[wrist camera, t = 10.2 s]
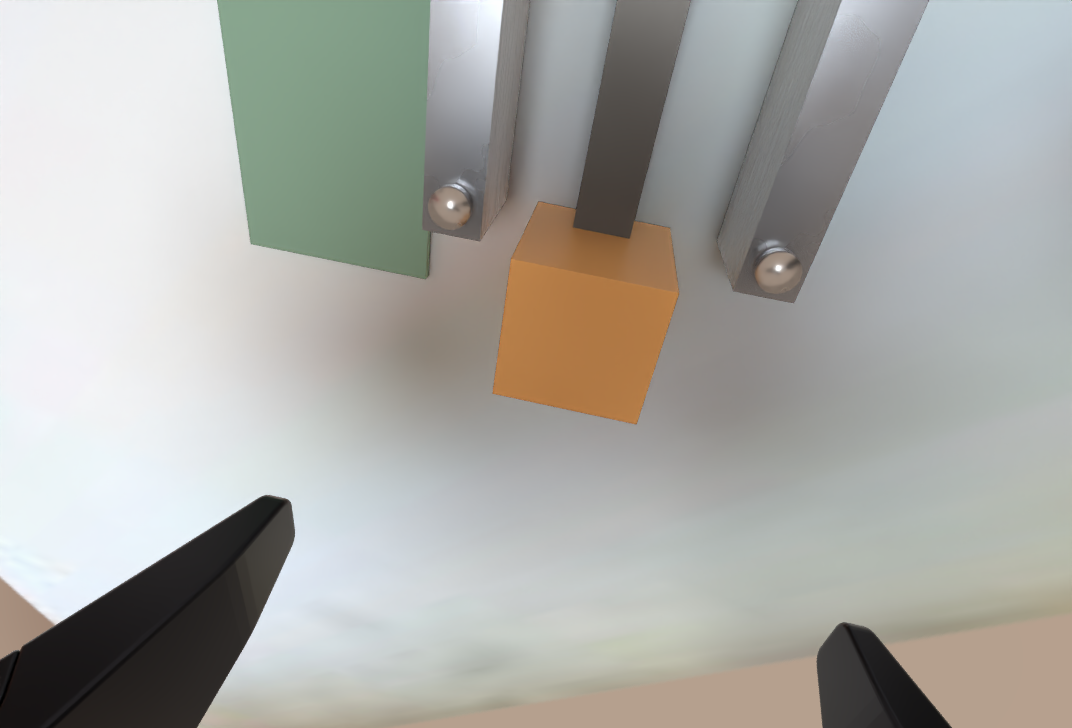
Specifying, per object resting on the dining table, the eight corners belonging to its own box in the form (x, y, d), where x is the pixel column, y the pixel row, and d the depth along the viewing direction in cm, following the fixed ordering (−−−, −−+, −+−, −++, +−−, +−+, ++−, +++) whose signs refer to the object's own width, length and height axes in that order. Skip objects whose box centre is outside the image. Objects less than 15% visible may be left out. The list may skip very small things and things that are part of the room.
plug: (595, -161, 13) (578, -226, 9) (774, -129, 13) (834, -183, 9) (520, 316, 19) (492, 393, 16) (636, 341, 19) (636, 424, 16)
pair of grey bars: (901, -90, 13) (992, -120, 9) (767, 250, 17) (798, 310, 14) (482, -159, 13) (431, -211, 10) (458, 190, 17) (416, 235, 14)
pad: (452, -252, 12) (448, -258, 12) (428, 275, 19) (425, 278, 19) (185, -295, 12) (175, -301, 12) (256, 240, 19) (250, 244, 19)
